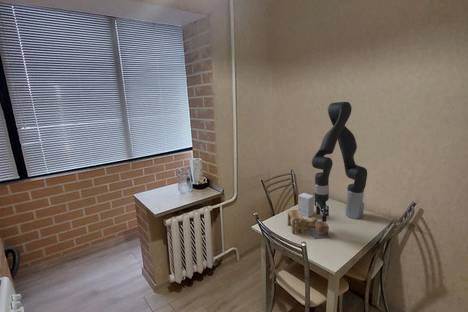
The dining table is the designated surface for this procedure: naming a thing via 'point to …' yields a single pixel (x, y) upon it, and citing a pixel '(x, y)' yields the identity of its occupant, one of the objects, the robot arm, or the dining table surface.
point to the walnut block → (321, 228)
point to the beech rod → (306, 224)
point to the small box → (306, 204)
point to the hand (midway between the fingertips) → (321, 217)
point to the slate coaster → (317, 234)
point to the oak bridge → (295, 216)
